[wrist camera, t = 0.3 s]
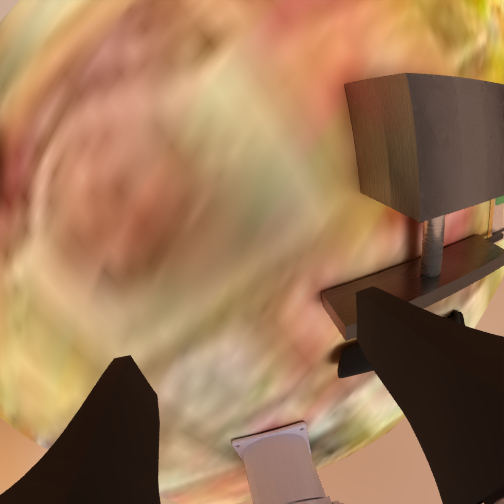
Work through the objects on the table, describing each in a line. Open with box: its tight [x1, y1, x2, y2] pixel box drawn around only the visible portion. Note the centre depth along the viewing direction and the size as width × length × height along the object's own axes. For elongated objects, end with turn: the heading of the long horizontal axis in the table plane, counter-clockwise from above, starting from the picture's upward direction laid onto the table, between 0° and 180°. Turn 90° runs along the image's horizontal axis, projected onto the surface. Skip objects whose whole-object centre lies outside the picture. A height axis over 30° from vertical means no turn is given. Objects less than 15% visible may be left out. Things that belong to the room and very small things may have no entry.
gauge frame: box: [344, 73, 504, 244], centre depth 16 cm, size 15×18×6 cm
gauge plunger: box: [321, 215, 504, 341], centre depth 17 cm, size 12×20×4 cm, turn 102°
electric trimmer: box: [338, 310, 465, 378], centre depth 23 cm, size 4×16×3 cm, turn 90°
